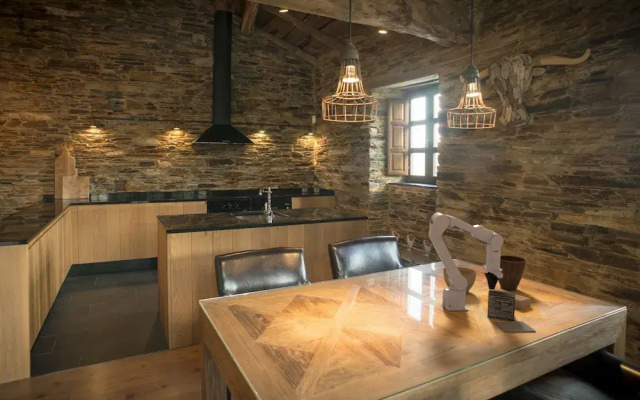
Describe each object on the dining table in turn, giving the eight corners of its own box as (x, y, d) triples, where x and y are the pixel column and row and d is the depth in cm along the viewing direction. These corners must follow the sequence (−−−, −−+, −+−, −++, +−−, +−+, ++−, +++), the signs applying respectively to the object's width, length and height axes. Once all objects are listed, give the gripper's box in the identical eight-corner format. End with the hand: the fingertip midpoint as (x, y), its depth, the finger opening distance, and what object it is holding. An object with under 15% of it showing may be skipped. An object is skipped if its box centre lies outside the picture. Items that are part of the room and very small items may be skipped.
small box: (514, 316, 178) (515, 292, 177) (514, 321, 172) (515, 297, 171) (487, 312, 183) (488, 289, 182) (486, 317, 177) (488, 293, 176)
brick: (531, 307, 190) (531, 297, 190) (521, 310, 186) (522, 300, 185) (497, 297, 204) (497, 287, 203) (487, 300, 199) (488, 291, 198)
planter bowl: (478, 290, 213) (479, 269, 212) (471, 298, 200) (472, 276, 199) (447, 284, 222) (448, 264, 221) (438, 292, 209) (439, 271, 207)
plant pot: (496, 282, 227) (498, 253, 225) (526, 287, 218) (528, 257, 217) (489, 289, 215) (491, 259, 213) (521, 295, 206) (523, 263, 204)
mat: (505, 332, 161) (505, 331, 161) (494, 322, 171) (494, 321, 171) (535, 332, 162) (535, 330, 162) (522, 322, 171) (522, 321, 171)
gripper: (510, 263, 177) (508, 294, 179) (494, 255, 192) (492, 284, 193) (494, 263, 177) (492, 294, 178) (479, 255, 192) (478, 284, 193)
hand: (491, 289), depth 186 cm, fingers closed
